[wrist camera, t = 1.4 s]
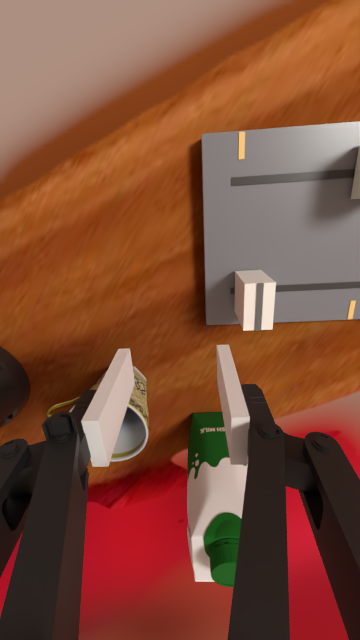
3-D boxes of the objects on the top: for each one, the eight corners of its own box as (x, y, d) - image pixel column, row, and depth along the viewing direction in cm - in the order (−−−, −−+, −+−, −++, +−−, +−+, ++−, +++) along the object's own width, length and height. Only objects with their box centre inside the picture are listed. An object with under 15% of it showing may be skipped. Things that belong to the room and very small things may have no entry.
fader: (234, 310, 34) (243, 331, 28) (235, 271, 32) (245, 284, 26) (258, 309, 33) (272, 329, 28) (260, 269, 32) (276, 282, 26)
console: (205, 319, 37) (206, 325, 35) (200, 138, 29) (201, 133, 27) (372, 312, 36) (382, 318, 34) (414, 122, 28) (431, 115, 26)
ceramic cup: (160, 358, 39) (151, 403, 30) (154, 411, 43) (144, 466, 34) (72, 346, 39) (35, 389, 30) (73, 401, 43) (41, 454, 34)
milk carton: (242, 406, 42) (283, 560, 24) (241, 449, 45) (276, 613, 27) (186, 408, 43) (183, 560, 24) (189, 450, 46) (189, 612, 27)
